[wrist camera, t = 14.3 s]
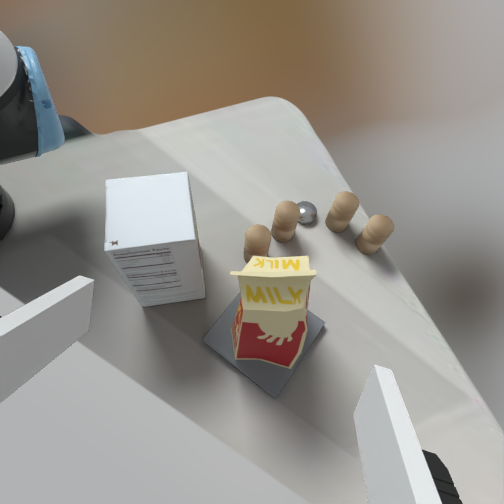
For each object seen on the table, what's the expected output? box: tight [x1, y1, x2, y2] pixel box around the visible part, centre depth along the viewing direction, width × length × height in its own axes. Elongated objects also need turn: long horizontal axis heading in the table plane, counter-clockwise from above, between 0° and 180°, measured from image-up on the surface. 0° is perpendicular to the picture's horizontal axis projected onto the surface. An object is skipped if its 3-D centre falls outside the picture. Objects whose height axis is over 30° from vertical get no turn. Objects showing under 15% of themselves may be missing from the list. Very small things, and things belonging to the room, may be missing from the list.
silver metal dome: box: [297, 201, 317, 224], centre depth 57 cm, size 4×4×2 cm
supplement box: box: [104, 172, 206, 307], centre depth 44 cm, size 10×9×17 cm
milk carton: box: [230, 256, 316, 369], centre depth 38 cm, size 9×9×20 cm
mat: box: [202, 292, 325, 399], centre depth 48 cm, size 12×12×1 cm
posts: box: [244, 191, 394, 263], centre depth 53 cm, size 22×8×6 cm, turn 98°
